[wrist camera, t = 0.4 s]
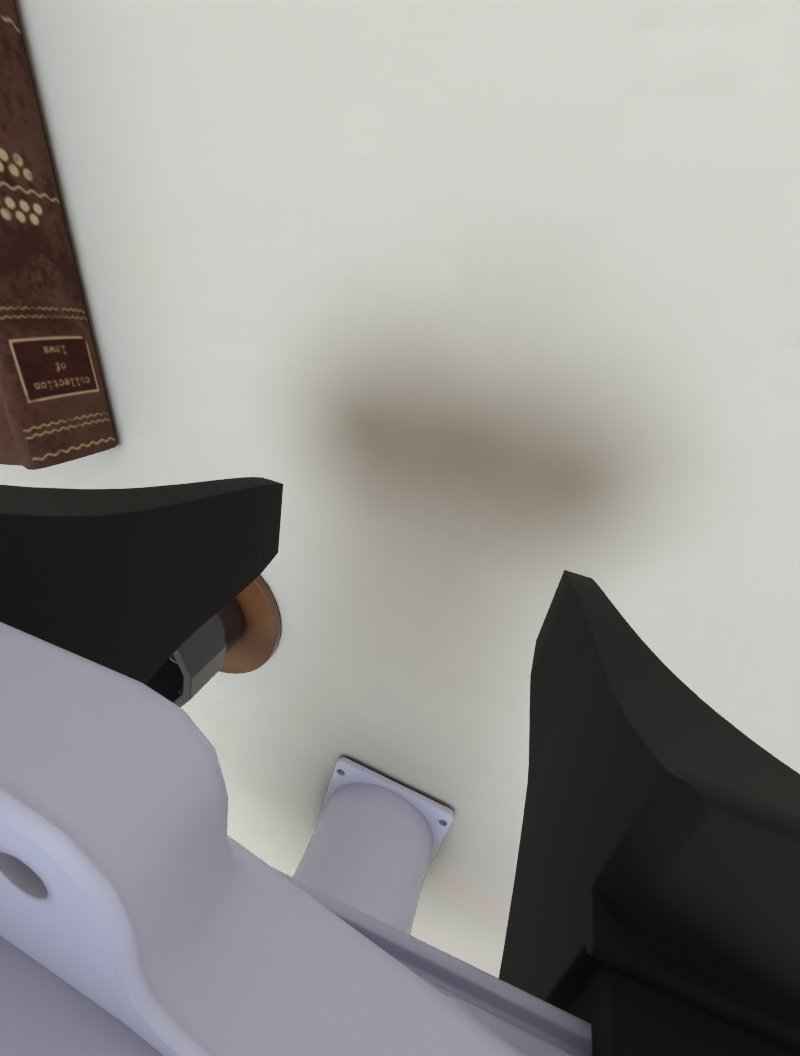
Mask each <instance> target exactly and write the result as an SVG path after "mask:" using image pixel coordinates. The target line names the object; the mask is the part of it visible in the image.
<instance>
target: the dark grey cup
mask: <svg viewBox="0 0 800 1056" xmlns="http://www.w3.org/2000/svg"><path fill="white" fill-rule="evenodd" d="M243 631H244V620H243V615H242V612H241V610H240V608H239V606H238V604H237V602H236V601H235V600H234V599H233V600H231V601H230V602H229V603H228V604H227V605H226V606H224V607H223V608H222V609H221V610H220V611H219V612H218V613H216V614H215V615H214V616H213V617H212V618H211V619H209V620H208V621H207V622H206V623H205V624H204V625H202V626H201V627H200V628H199V629H198V630H197V631H196V632H194V633H193V634H192V635H191V636H190V637H189V638H188V639H187V640H186V641H185V642H184V643H183V644H182V645H181V646H180V647H179V648H178V649H177V650H176V651H175V652H174V653H173V654H172V656H171V657H170V658H169V659H168V660H167V661H166V662H165V663H164V664H163V665H162V666H161V667H160V668H159V670H158V671H157V672H156V673H155V674H154V675H153V676H152V677H151V678H150V680H149V681H148V682H147V683H146V684H145V685H146V686H148V687H149V688H151V689H152V690H154V691H155V692H157V693H158V694H160V695H161V696H163V697H165V698H166V699H168V700H169V701H171V702H172V703H174V704H175V705H177V706H178V707H180V708H181V707H182V706H183V705H184V704H185V703H187V702H188V701H189V700H190V699H191V698H192V697H193V696H194V695H195V694H196V693H197V692H198V691H199V690H200V689H201V688H202V687H203V686H204V685H205V684H206V683H207V682H208V681H209V680H210V679H211V678H212V677H213V676H214V675H215V674H216V673H217V672H218V671H219V670H220V669H221V668H222V667H223V666H224V664H225V656H226V653H227V652H228V651H229V650H230V649H231V648H232V647H233V646H234V645H235V644H236V643H237V642H238V641H239V640H240V639H241V637H242V635H243ZM171 659H172V660H173V661H172V660H171Z"/></svg>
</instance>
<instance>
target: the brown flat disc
mask: <svg viewBox="0 0 800 1056" xmlns="http://www.w3.org/2000/svg"><path fill="white" fill-rule="evenodd" d="M234 600H235V601H236V602H237V604H238V606H239V608H240V610H241V612H242V615H243V620H244V631H243V635H242V637H241V639H240V640H239V641H238V642H237V643H236V644H235V645H234V646H233V647H232V648H231V649H230V650H229V651H228V652H227V653H226V656H225V664H224V666H223V667H222V668H221V669H220V670H219V671H220V672H225V673H234V674H238V673H246V672H250V671H253V670H255V669H257V668H259V667H261V666H262V665H263V664H264V663H265V662H266V661H267V660H268V659H269V658H270V657H271V656H272V654H273V653H274V652H275V650H276V648H277V646H278V643H279V639H280V634H281V620H280V615H279V610H278V607H277V604H276V602H275V599H274V597H273V595H272V593H271V591H270V589H269V588H268V586H267V585H266V583H265V582H264V580H263V579H262V577H261V576H260V575H259V576H258V577H257V578H256V579H255V580H254V581H253V582H252V583H251V584H250V585H249V586H247V587H246V588H245V589H244V590H243V591H242V592H241V593H239V594H238V595H237V596H236V597H235V598H234Z"/></svg>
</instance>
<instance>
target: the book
mask: <svg viewBox="0 0 800 1056" xmlns="http://www.w3.org/2000/svg"><path fill="white" fill-rule="evenodd" d="M116 446H117V443H116V438H115V434H114V430H113V425H112V421H111V417H110V412H109V408H108V404H107V400H106V395H105V391H104V387H103V382H102V378H101V374H100V370H99V365H98V361H97V357H96V353H95V348H94V344H93V340H92V335H91V331H90V327H89V323H88V318H87V314H86V310H85V305H84V301H83V297H82V293H81V288H80V284H79V280H78V276H77V271H76V267H75V263H74V258H73V254H72V250H71V246H70V241H69V237H68V233H67V229H66V224H65V220H64V216H63V211H62V207H61V203H60V199H59V194H58V190H57V186H56V182H55V177H54V173H53V169H52V164H51V160H50V156H49V152H48V147H47V143H46V139H45V135H44V130H43V126H42V122H41V117H40V113H39V109H38V105H37V100H36V96H35V92H34V88H33V83H32V79H31V75H30V70H29V66H28V62H27V58H26V53H25V49H24V45H23V41H22V36H21V32H20V28H19V23H18V19H17V15H16V11H15V6H14V2H13V0H0V464H7V465H22V466H24V467H26V468H27V469H40V468H45V467H49V466H53V465H57V464H60V463H64V462H67V461H71V460H74V459H78V458H81V457H85V456H88V455H92V454H95V453H98V452H101V451H105V450H108V449H111V448H113V447H116Z"/></svg>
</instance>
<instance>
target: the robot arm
mask: <svg viewBox="0 0 800 1056" xmlns="http://www.w3.org/2000/svg"><path fill="white" fill-rule="evenodd" d="M282 491H283V484H281V483H278V482H275V481H272V480H268V479H265V478H258V477H247V478H233V479H224V480H215V481H206V482H197V483H189V484H179V485H168V486H157V487H146V488H130V489H57V488H33V487H19V486H7V485H0V1056H800V774H799V773H797V772H796V771H794V770H793V769H791V768H790V767H788V766H787V765H785V764H784V763H782V762H781V761H779V760H778V759H777V758H775V757H774V756H773V755H771V754H770V753H768V752H767V751H766V750H764V749H763V748H762V747H760V746H759V745H757V744H756V743H755V742H753V741H752V740H751V739H749V738H748V737H747V736H746V735H744V734H743V733H742V732H741V731H739V730H738V729H737V728H736V727H734V726H733V725H732V724H730V723H729V722H728V721H727V720H725V719H724V718H723V717H722V716H720V715H719V714H718V713H717V712H715V711H714V710H713V709H712V708H711V707H710V706H708V705H707V704H706V703H705V702H704V701H703V700H701V699H700V698H699V697H698V696H697V695H696V694H695V693H694V692H693V691H692V690H690V689H689V688H688V687H687V686H686V685H685V684H684V683H683V682H682V681H681V680H680V679H679V678H677V677H676V676H675V675H674V674H673V673H672V672H671V671H670V670H669V669H668V668H667V667H666V666H665V665H664V664H663V663H662V662H661V660H660V659H659V658H658V657H657V656H656V655H655V654H654V653H653V652H652V651H651V650H650V649H649V647H648V646H647V645H646V644H645V643H644V642H643V641H642V640H641V638H640V637H639V636H638V635H637V634H636V633H635V631H634V630H633V629H632V628H631V627H630V625H629V624H628V623H627V622H626V620H625V619H624V618H623V617H622V615H621V614H620V613H619V612H618V610H617V609H616V608H615V606H614V605H613V604H612V603H611V601H610V600H609V599H608V597H607V596H606V595H605V593H604V592H603V591H602V590H601V588H600V587H599V586H598V585H597V583H596V582H595V581H594V580H593V579H592V578H588V577H585V576H582V575H579V574H575V573H572V572H569V571H566V570H564V573H563V575H562V578H561V580H560V583H559V585H558V588H557V590H556V593H555V595H554V598H553V600H552V603H551V605H550V608H549V610H548V613H547V615H546V618H545V620H544V623H543V625H542V628H541V630H540V633H539V635H538V638H537V641H536V646H535V652H534V658H533V664H532V671H531V683H530V735H529V771H528V785H527V793H526V801H525V809H524V817H523V824H522V832H521V839H520V846H519V853H518V860H517V867H516V874H515V881H514V888H513V894H512V900H511V907H510V913H509V920H508V926H507V933H506V939H505V945H504V951H503V957H502V963H501V969H500V974H499V979H498V978H496V977H494V976H492V975H490V974H488V973H486V972H484V971H482V970H480V969H478V968H476V967H474V966H472V965H470V964H468V963H466V962H464V961H462V960H460V959H457V958H455V957H453V956H451V955H449V954H447V953H445V952H443V951H441V950H439V949H437V948H435V947H433V946H431V945H429V944H427V943H425V942H423V941H421V940H419V939H417V938H415V937H413V936H411V935H410V932H411V928H412V924H413V920H414V916H415V912H416V908H417V904H418V900H419V896H420V892H421V888H422V884H423V880H424V876H425V872H426V870H427V868H428V867H429V865H430V863H431V861H432V859H433V857H434V856H435V854H436V852H437V850H438V848H439V846H440V845H441V843H442V841H443V839H444V837H445V835H446V834H447V832H448V830H449V828H450V826H451V824H452V822H453V820H454V812H453V811H452V810H451V809H449V808H448V807H446V806H443V805H441V804H439V803H437V802H435V801H433V800H431V799H429V798H427V797H425V796H423V795H421V794H419V793H417V792H415V791H413V790H411V789H409V788H407V787H405V786H403V785H400V784H398V783H396V782H394V781H392V780H390V779H388V778H386V777H384V776H382V775H380V774H378V773H376V772H374V771H372V770H370V769H368V768H366V767H364V766H362V765H360V764H357V763H355V762H353V761H351V760H349V759H347V758H345V757H340V758H338V760H337V762H336V764H335V767H334V771H333V774H332V777H331V780H330V784H329V787H328V790H327V793H326V797H325V800H324V803H323V806H322V810H321V813H320V816H319V819H318V823H317V826H316V829H315V832H314V834H313V836H312V839H311V841H310V843H309V845H308V847H307V849H306V851H305V853H304V855H303V857H302V859H301V861H300V863H299V865H298V867H297V869H296V871H295V873H294V876H293V878H292V877H290V876H288V875H286V874H284V873H282V872H280V871H278V870H276V869H274V868H272V867H270V866H269V865H268V864H266V863H265V862H264V861H262V860H261V859H260V858H258V857H257V856H255V855H254V854H253V853H251V852H250V851H249V850H247V849H246V848H245V847H243V846H242V845H241V844H239V843H238V842H236V841H235V840H233V839H232V838H230V837H229V836H227V811H228V796H227V791H226V785H225V782H224V778H223V775H222V771H221V768H220V764H219V761H218V758H217V754H216V751H215V748H214V747H213V745H212V744H211V743H210V742H209V741H208V739H207V738H206V737H205V736H204V734H203V733H202V732H201V731H200V729H199V728H198V727H197V726H196V725H195V723H194V722H193V721H192V720H191V718H190V717H189V716H188V715H187V713H186V712H185V711H184V710H183V709H181V708H180V707H178V706H177V705H175V704H174V703H172V702H171V701H169V700H168V699H166V698H165V697H163V696H161V695H160V694H158V693H157V692H155V691H154V690H152V689H151V688H149V687H148V686H146V685H145V684H146V683H147V682H148V681H149V680H150V678H151V677H152V676H153V675H154V674H155V673H156V672H157V671H158V670H159V668H160V667H161V666H162V665H163V664H164V663H165V662H166V661H167V660H168V659H169V658H170V657H171V656H172V654H173V653H174V652H175V651H176V650H177V649H178V648H179V647H180V646H181V645H182V644H183V643H184V642H185V641H186V640H187V639H188V638H189V637H190V636H191V635H192V634H193V633H194V632H196V631H197V630H198V629H199V628H200V627H201V626H202V625H204V624H205V623H206V622H207V621H208V620H209V619H211V618H212V617H213V616H214V615H215V614H216V613H218V612H219V611H220V610H221V609H222V608H223V607H224V606H226V605H227V604H228V603H229V602H230V601H231V600H233V599H234V598H235V597H236V596H237V595H238V594H239V593H241V592H242V591H243V590H244V589H245V588H246V587H247V586H249V585H250V584H251V583H252V582H253V581H254V580H255V579H256V578H257V577H258V576H259V575H260V574H261V572H262V571H263V570H264V569H265V568H266V567H267V565H268V564H269V563H270V562H271V560H272V559H273V558H274V557H275V555H276V554H277V553H278V545H279V531H280V518H281V504H282Z"/></svg>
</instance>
